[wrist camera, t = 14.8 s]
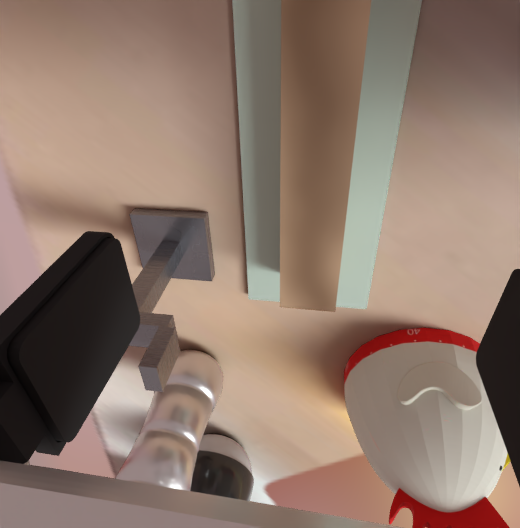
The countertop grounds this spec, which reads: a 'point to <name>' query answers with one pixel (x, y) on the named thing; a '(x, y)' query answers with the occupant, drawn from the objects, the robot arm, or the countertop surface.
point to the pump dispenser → (222, 469)
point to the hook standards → (166, 281)
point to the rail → (317, 142)
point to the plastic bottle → (176, 424)
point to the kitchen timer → (427, 426)
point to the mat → (365, 150)
